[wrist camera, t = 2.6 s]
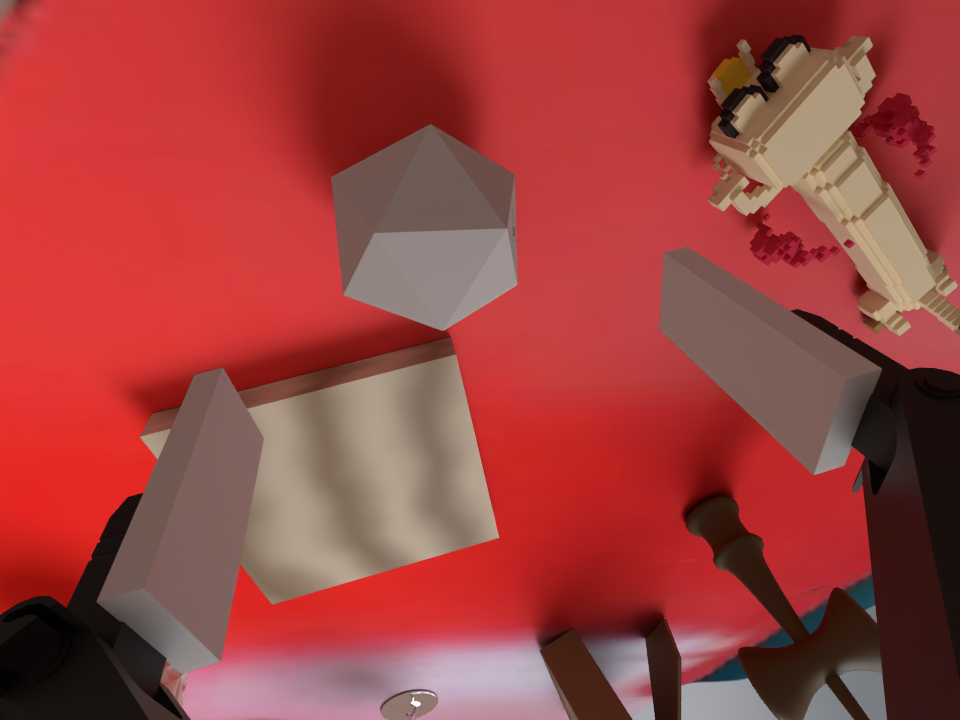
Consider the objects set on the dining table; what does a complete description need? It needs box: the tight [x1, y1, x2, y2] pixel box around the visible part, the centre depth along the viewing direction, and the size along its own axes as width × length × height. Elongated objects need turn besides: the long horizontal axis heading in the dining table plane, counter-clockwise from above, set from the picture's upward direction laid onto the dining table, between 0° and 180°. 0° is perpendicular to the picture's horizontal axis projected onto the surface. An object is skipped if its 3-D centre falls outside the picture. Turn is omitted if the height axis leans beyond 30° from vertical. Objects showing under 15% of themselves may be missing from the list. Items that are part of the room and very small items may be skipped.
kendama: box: [686, 496, 882, 720], centre depth 39 cm, size 6×10×20 cm, turn 132°
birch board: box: [140, 337, 499, 604], centre depth 34 cm, size 18×18×2 cm
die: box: [331, 124, 517, 331], centre depth 23 cm, size 8×9×10 cm
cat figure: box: [707, 35, 960, 336], centre depth 27 cm, size 10×9×25 cm
